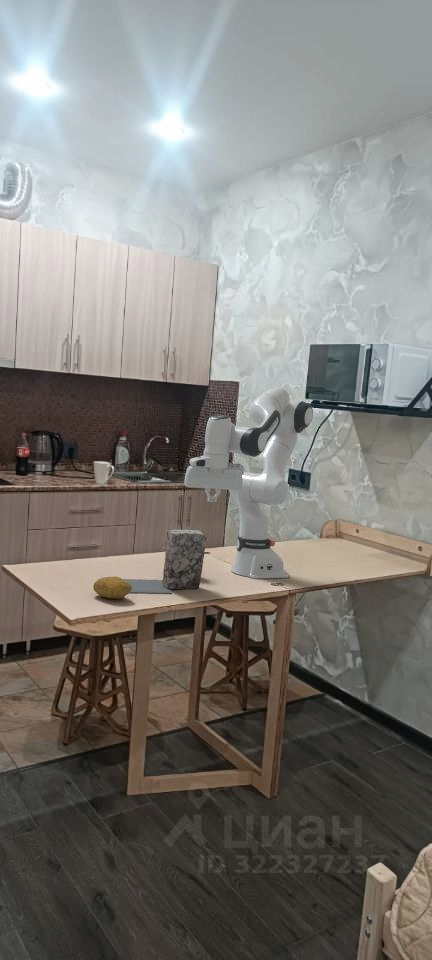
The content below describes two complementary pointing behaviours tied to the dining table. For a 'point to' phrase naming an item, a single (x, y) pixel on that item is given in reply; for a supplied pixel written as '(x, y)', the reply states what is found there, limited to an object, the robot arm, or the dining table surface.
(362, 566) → the dining table surface
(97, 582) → the potato
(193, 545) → the stone block
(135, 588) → the mat
